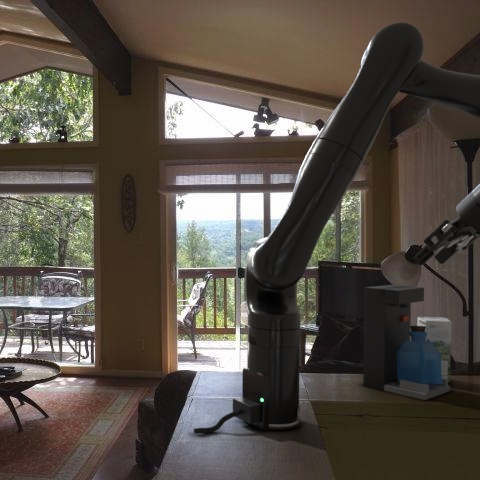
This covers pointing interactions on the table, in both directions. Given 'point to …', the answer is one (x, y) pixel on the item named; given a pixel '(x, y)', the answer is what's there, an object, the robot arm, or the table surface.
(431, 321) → the syrup box
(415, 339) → the perfume bottle
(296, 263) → the robot arm
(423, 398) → the coffee maker
